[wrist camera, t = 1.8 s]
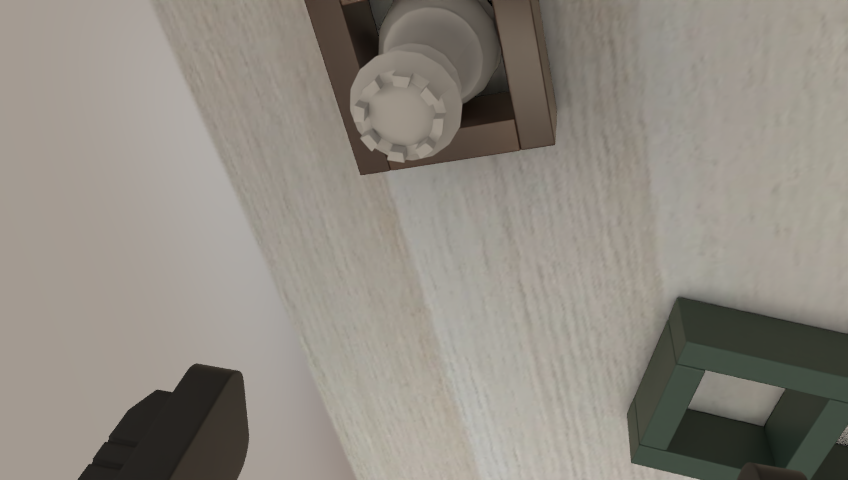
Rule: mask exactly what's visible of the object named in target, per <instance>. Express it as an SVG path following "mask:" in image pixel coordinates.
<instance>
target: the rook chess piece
mask: <svg viewBox="0 0 848 480" xmlns="http://www.w3.org/2000/svg"><path fill="white" fill-rule="evenodd" d="M501 53H502V51H501V46H500V41H499V36H498V31H497V26H496V21H495V16H494V11H493V8H492V7H491V5H490V4H489V3H488V1H487V0H394V1H393V3H392V5H391V7H390V9H389V11H388V13H387V15H386V17H385V19H384V21H383V23H382V26H381V28H380V30H379V56H376V57H375V58H373V59H372V60H371V61H370V62H369V63H367V64H366V65H365V66H364V67H363V68H361V69H360V70H359V72H358V74H357V77H356V79H355V81H354V83H353V85H352V87H351V94H350V111H351V114H352V116H353V119H354V122H355V124H356V127H357V130H358V131H359V132H360V133H361V135H362V136H361V138H360V139H361V140H362V141H363V142H364V144H365V145H366V146H367V147H368V148H369V149H370V150H371V151H373V149H374V148H375V149H377V150H379V151H381V152H383V153H385V154H386V155H388V158H387V160H390V161H397V162H403V163H404V162H405V160H417V159H421V158H426V157H430V156H433V155H435V154H436V153H438V152H439V151H440V150H442V149H443V148H445V147H446V146H447V145H449V144H450V142H451V141H452V139H453V137H454V136H455V134H456V132H457V131H458V129H459V127H460V122H461V114H462V104H464V103H466V102H468V101H469V100H470V99H472V98H473V97H474V96H476V95H477V94H478V93H480V92H481V91H483V90H484V89H485V87H486V85H487V84H488V82H489V80H490V79H491V77H492V75H493V74H494V72H495V70H496V69H497V67H498V65H499V64H500V60H501Z"/></svg>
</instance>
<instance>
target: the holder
mask: <svg viewBox="0 0 848 480" xmlns="http://www.w3.org/2000/svg"><path fill="white" fill-rule="evenodd" d="M304 1H305V4H306V7H307V10H308V13H309V16H310V19H311V22H312V26H313V29H314V32H315V35H316V38H317V41H318V44H319V47H320V50H321V54H322V57H323V60H324V63H325V66H326V69H327V72H328V75H329V78H330V82H331V85H332V88H333V91H334V94H335V97H336V100H337V103H338V106H339V110H340V113H341V116H342V119H343V122H344V125H345V128H346V131H347V134H348V137H349V141H350V144H351V147H352V150H353V153H354V156H355V159H356V162H357V165H358V169H359V172H360V175H366V174H373V173H379V172H385V171H390V170H398V169H404V168H411V167H417V166H424V165H430V164H436V163H443V162H449V161H456V160H462V159H468V158H475V157H481V156H488V155H494V154H500V153H507V152H513V151H519V150H525V149H532V148H538V147H545V146H551V145H555V142H556V124H557V108H556V102H555V96H554V90H553V84H552V78H551V72H550V66H549V60H548V54H547V48H546V42H545V36H544V30H543V24H542V18H541V12H540V6H539V0H491V1H492V6H493V11H494V16H495V21H496V26H497V31H498V36H499V41H500V46H501V51H502V56H503V62H504V67H505V72H506V77H507V82H508V87H509V91H508V92H502V93H497V94H491V95H486V96H480V97H475V98H472V99H470V100H469V101H468V102H466V103H464V104H462V114H461V122H460V127H459V129H458V131H457V132H456V134H455V136H454V137H453V139H452V141H451V142H450V144H449V145H447V146H446V147H445V148H443V149H442V150H440V151H439V152H438V153H436V154H435V155H433V156H430V157H426V158H421V159H417V160H405V162H404V163H403V162H397V161H390V160H387V158H388V155H386V154H385V153H383V152H381V151H379V150H377V149H375V148H374V149H373V151H371V150H370V149H369V148H368V147H367V146H366V145H365V144H364V142H363V141H362V140H361V139H360V138H361V136H362V135H361V133H360V132H359V131H358V130H357V127H356V124H355V122H354V119H353V116H352V114H351V111H350V94H351V87H352V85H353V83H354V81H355V79H356V77H357V74H358V72H359V70H360V69H361V68H363V67H364V66H365V65H366V64H367V63H369V62H370V61H371V60H372V59H373V58H375V57H376V56H379V37H378V34H377V30H376V27H375V23H374V20H373V16H372V12H371V9H370V5H369V2H368V0H304Z"/></svg>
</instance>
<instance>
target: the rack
mask: <svg viewBox="0 0 848 480" xmlns="http://www.w3.org/2000/svg"><path fill="white" fill-rule="evenodd" d="M705 370H708V371H712V372H716V373H721V374H725V375H730V376H734V377H738V378H743V379H747V380H751V381H756V382H760V383H765V384H769V385H773V386H778V387H782V388H786V390H785V392H784V394H783V395H782V397H781V399H780V400H779V402H778V404H777V406H776V407H775V409H774V411H773V412H772V414H771V416H770V417H769V419H768V421H767V423H766V424H765V426H764V427H761V426H756V425H752V424H748V423H743V422H739V421H735V420H731V419H726V418H722V417H718V416H713V415H709V414H705V413H701V412H696V411H692V410H688V409H687V407H688V405H689V403H690V401H691V399H692V397H693V395H694V393H695V391H696V389H697V387H698V385H699V383H700V381H701V379H702V377H703V375H704V373H705ZM627 419H628V431H629V443H630V455H631V463H634V464H638V465H642V466H646V467H650V468H654V469H659V470H663V471H667V472H671V473H675V474H679V475H684V476H688V477H692V478H696V479H700V480H737V478H738V476H739V474H740V471H741V469H742V467H743V466H744V465H745V464H746V463H748V462H751V463H756V464H762V465H768V466H773V467H779V468H785V469H790V470H796V471H801V472H802V473H803V474H804V475H805V476H806V478H807V479H808V480H848V447H846V446H842V445H838V444H835V443H836V441H837V440H838V438H839V437H840V436H841V434H842V433H843V431H844V430H845V428H846V427H847V425H848V335H846V334H842V333H837V332H833V331H828V330H824V329H819V328H815V327H810V326H806V325H801V324H797V323H792V322H787V321H783V320H778V319H774V318H769V317H765V316H760V315H756V314H751V313H747V312H742V311H738V310H733V309H729V308H724V307H720V306H715V305H711V304H706V303H702V302H697V301H693V300H688V299H684V298H677V300H676V302H675V304H674V307H673V309H672V311H671V314H670V316H669V320H668V321H667V323H666V326H665V328H664V330H663V333H662V335H661V337H660V340H659V342H658V344H657V347H656V349H655V351H654V354H653V356H652V358H651V361H650V363H649V365H648V368H647V370H646V372H645V375H644V377H643V379H642V382H641V384H640V386H639V389H638V391H637V393H636V396H635V397H634V399H633V402H632V404H631V406H630V409H629V411H628V413H627Z"/></svg>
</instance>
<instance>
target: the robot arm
mask: <svg viewBox="0 0 848 480" xmlns="http://www.w3.org/2000/svg"><path fill="white" fill-rule="evenodd" d="M248 442H249V431H248V420H247V410H246V401H245V390H244V380H243V376H242V373H241V372H240V371H236V370H231V369H224V368H219V367H213V366H208V365H202V364H194V365H192V366H191V367H190V368H189V369H188V371H187V372H186V373H185V375H184V376H183V378H182V380H181V381H180V382H179V384H178V385H177V387H176V388H175V390H174V391H173V392H167V391H162V390H156V391H154V392H153V393H151V394H150V395H149V396H147V397H146V398H144V399H143V400H142V401H140V402H139V403H138V404H136V405H135V406H133V407H132V408H131V409H129V410H128V411H127V413H126V414H125V415H124V417H123V418H122V420H121V421H120V422H119V424H118V425H117V426H116V428H115V429H114V430H113V432H112V433H111V434H110V436H109V440H108V442H105V443H104V444H103V445H102V447H101V448H100V450H99V451H98V452H97V454H96V455H95V457H94V458H93V462H92V464H89V465H88V466H87V467H86V469H85V470H84V471H83V473H82V474H81V476H80V477H79V478H78V480H237V478H238V476H239V474H240V472H241V470H242V467H243V465H244V461H245V458H246V453H247V449H248ZM737 480H808V479H807V478H806V476H805V475H804V474H803V473H802V472H801V471H796V470H790V469H785V468H779V467H773V466H768V465H762V464H756V463H751V462H748V463H746V464H745V465H744V466H743V467H742V469H741V471H740V474H739V476H738V478H737Z"/></svg>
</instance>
